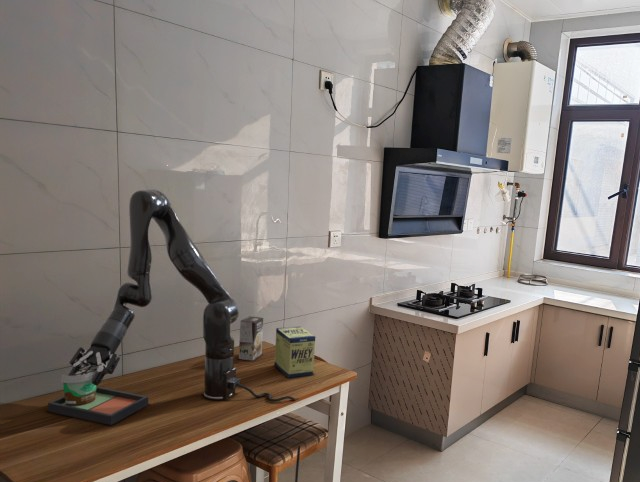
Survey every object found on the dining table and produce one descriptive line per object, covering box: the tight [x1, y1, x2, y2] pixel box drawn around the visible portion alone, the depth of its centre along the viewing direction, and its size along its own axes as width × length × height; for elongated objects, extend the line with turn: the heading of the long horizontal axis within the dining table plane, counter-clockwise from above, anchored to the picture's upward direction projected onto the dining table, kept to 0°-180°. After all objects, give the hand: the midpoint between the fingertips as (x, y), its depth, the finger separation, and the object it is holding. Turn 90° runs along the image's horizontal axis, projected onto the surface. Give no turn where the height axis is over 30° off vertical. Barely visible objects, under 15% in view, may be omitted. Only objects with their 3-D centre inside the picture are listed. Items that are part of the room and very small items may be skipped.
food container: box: [60, 365, 99, 406], centre depth 169 cm, size 12×6×10 cm, turn 168°
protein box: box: [273, 326, 316, 379], centre depth 215 cm, size 10×16×16 cm
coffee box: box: [238, 315, 264, 362], centre depth 225 cm, size 9×6×16 cm
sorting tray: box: [47, 385, 149, 426], centre depth 169 cm, size 22×16×3 cm
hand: (82, 382), depth 167 cm, fingers open, 8 cm apart
